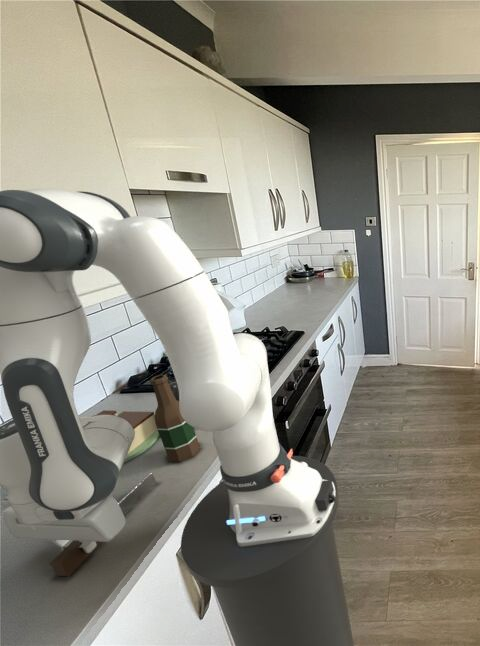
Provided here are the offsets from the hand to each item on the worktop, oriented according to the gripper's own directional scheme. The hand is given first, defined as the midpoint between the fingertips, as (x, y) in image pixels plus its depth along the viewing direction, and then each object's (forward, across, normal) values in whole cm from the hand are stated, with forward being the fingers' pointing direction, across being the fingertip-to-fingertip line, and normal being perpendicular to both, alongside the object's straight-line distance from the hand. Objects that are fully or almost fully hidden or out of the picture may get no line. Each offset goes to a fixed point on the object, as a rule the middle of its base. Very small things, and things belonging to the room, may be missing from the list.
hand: (80, 549), depth 68 cm
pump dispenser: (+2, -9, +41) cm, 42 cm away
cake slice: (+1, -30, +31) cm, 43 cm away
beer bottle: (+2, -1, +29) cm, 29 cm away
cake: (+2, -23, +31) cm, 39 cm away
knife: (+2, 0, +7) cm, 7 cm away
